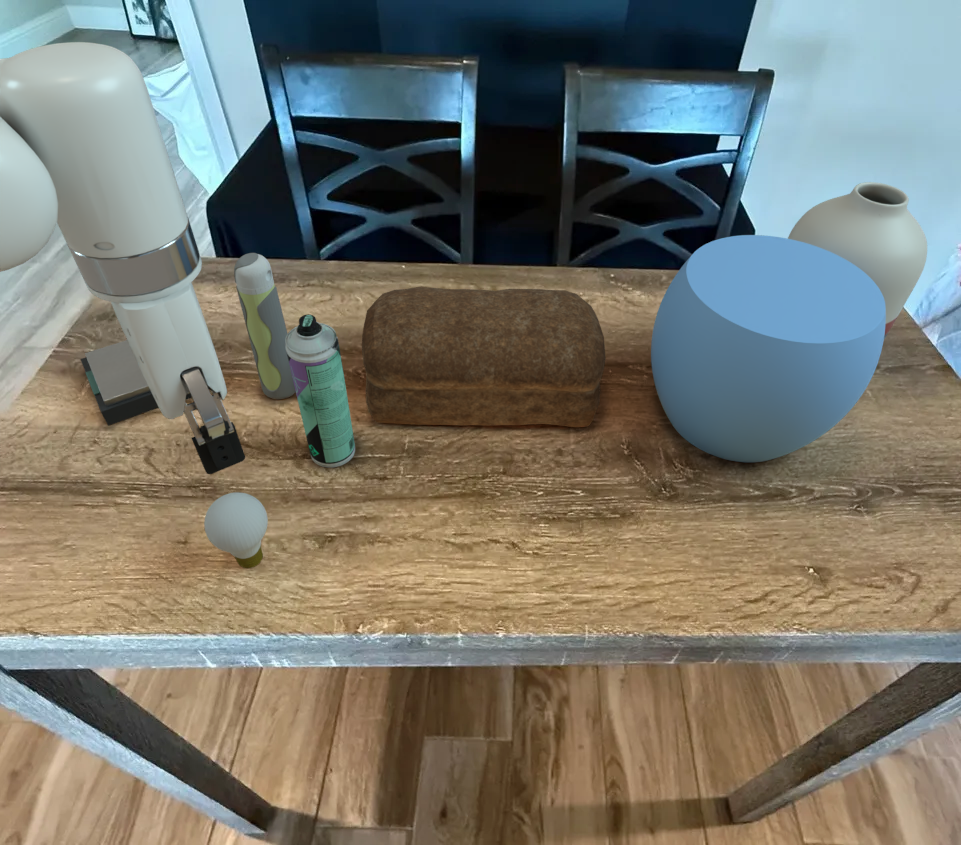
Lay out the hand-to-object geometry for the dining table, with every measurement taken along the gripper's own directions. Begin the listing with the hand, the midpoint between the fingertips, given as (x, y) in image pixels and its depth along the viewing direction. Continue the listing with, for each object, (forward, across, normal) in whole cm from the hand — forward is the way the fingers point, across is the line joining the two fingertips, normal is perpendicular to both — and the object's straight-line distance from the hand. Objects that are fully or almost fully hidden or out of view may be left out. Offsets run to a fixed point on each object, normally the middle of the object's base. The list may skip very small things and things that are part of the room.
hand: (206, 429), depth 58 cm
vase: (+21, +8, +82) cm, 85 cm away
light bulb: (+20, 0, -1) cm, 20 cm away
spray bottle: (+20, -24, +12) cm, 34 cm away
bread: (+20, -10, +35) cm, 42 cm away
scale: (+20, -35, -2) cm, 40 cm away
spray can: (+20, -10, +13) cm, 26 cm away
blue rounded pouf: (+21, +12, +60) cm, 65 cm away
